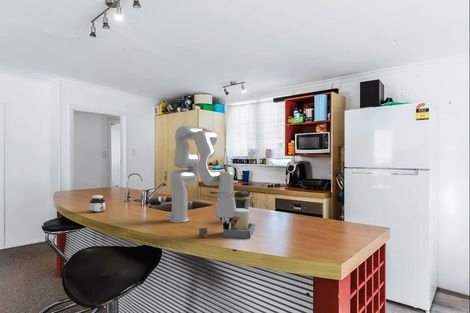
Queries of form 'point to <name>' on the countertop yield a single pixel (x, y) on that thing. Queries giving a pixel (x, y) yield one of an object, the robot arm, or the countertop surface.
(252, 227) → the tray
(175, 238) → the countertop surface
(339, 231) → the countertop surface
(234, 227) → the coffee cup
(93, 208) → the spread jar
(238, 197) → the coffee jar
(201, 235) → the walnut block
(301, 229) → the countertop surface
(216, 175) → the robot arm
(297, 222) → the countertop surface
